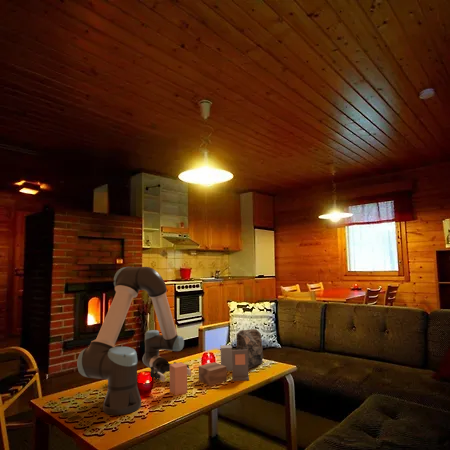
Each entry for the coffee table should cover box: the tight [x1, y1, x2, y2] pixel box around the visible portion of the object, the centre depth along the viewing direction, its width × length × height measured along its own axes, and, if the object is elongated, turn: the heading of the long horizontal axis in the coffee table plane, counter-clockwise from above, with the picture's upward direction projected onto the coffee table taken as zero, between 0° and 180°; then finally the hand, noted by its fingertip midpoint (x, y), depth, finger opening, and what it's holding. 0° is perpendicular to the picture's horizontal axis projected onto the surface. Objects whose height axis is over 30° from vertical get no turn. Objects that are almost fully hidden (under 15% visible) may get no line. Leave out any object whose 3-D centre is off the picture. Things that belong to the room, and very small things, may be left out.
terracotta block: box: [169, 361, 188, 396], centre depth 158 cm, size 6×6×12 cm
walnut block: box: [198, 361, 228, 386], centre depth 172 cm, size 10×10×7 cm
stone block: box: [235, 328, 264, 369], centre depth 195 cm, size 18×9×20 cm, turn 130°
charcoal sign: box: [231, 349, 250, 382], centre depth 173 cm, size 8×4×14 cm, turn 93°
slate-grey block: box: [219, 344, 233, 372], centre depth 190 cm, size 6×6×12 cm
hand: (177, 375), depth 161 cm, fingers open, 13 cm apart
